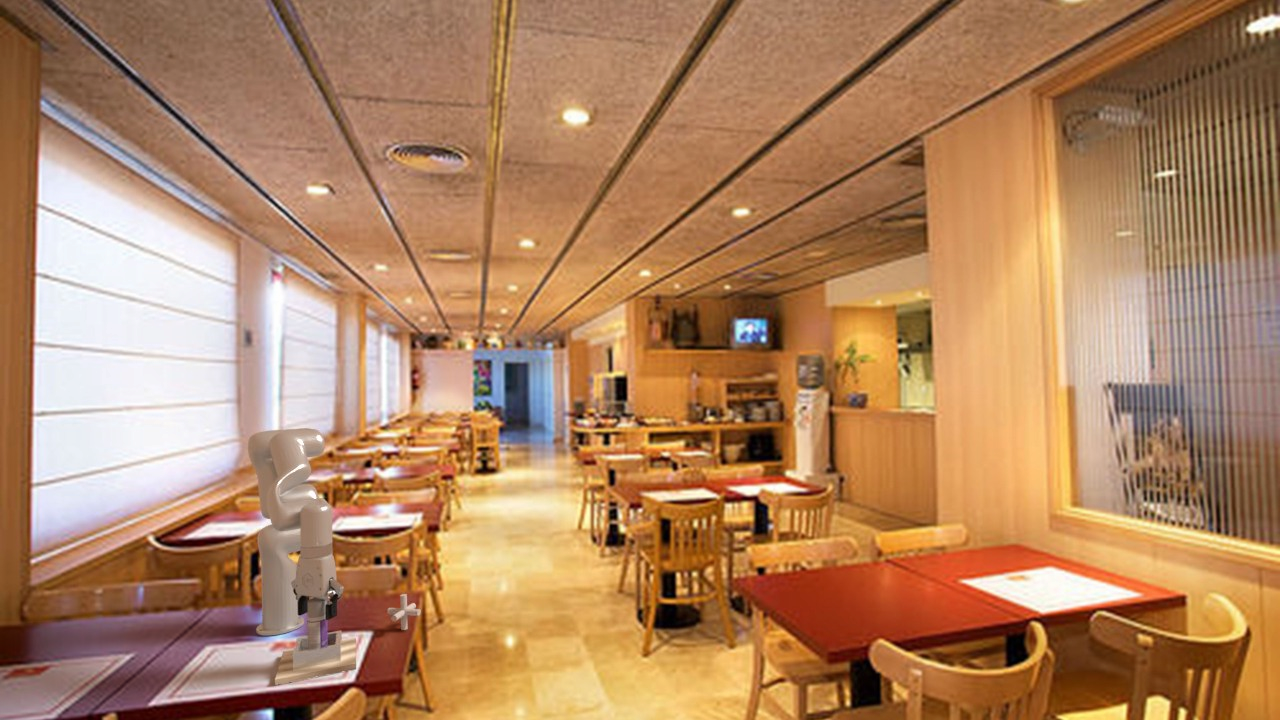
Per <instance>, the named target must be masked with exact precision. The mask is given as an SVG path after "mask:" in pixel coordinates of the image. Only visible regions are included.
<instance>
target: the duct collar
mask: <svg viewBox="0 0 1280 720" xmlns="http://www.w3.org/2000/svg"><path fill="white" fill-rule="evenodd" d="M342 640H343V639H342V630H335V631H332V632H328V646H324V647H319V648H314V649H308V636H303V637H298V638H297V637H296V641H295V644H294V648H293V649H294V652H293V670H297V669H302V668H307V667H312V666H317V665H322V664H327V663H332V662H337V661H341V649H342Z"/></svg>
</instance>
